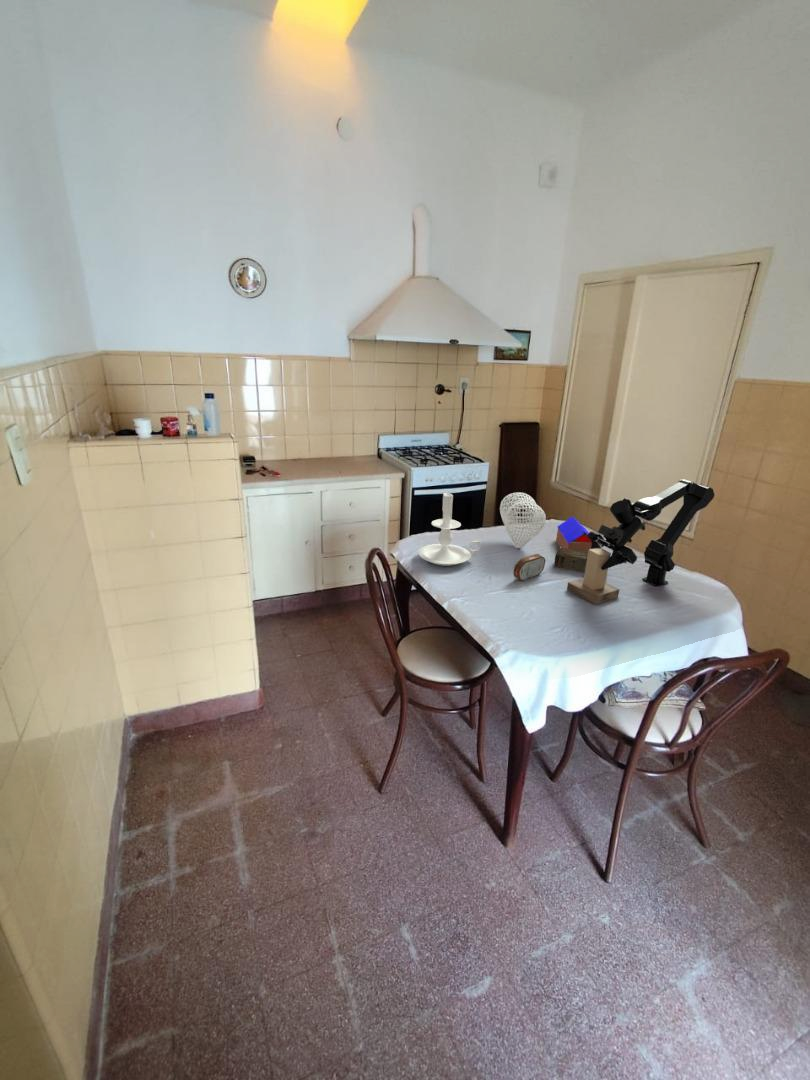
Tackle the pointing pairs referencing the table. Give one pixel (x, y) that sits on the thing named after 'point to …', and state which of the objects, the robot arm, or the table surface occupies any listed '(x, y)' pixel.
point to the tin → (529, 567)
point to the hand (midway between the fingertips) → (594, 565)
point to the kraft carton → (596, 568)
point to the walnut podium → (593, 592)
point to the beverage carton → (570, 559)
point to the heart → (534, 518)
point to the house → (573, 536)
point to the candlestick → (446, 540)
